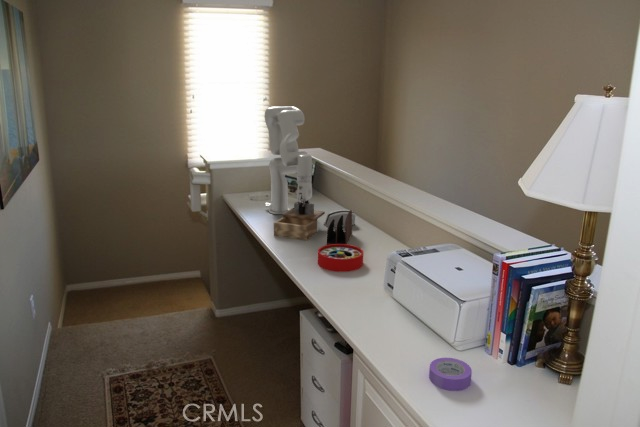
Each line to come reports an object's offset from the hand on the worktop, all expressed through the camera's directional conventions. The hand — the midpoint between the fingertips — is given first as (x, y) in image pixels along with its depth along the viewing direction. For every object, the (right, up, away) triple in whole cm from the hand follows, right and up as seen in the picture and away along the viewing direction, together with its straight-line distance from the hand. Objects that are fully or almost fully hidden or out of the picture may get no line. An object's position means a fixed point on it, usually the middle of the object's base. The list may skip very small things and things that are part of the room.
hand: (304, 211), depth 293 cm
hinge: (+19, -8, +9) cm, 22 cm away
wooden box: (-4, -11, -7) cm, 14 cm away
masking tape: (+45, -49, -133) cm, 148 cm away
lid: (0, -2, 0) cm, 2 cm away
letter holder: (+18, -14, -14) cm, 27 cm away
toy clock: (+17, -23, -46) cm, 54 cm away
